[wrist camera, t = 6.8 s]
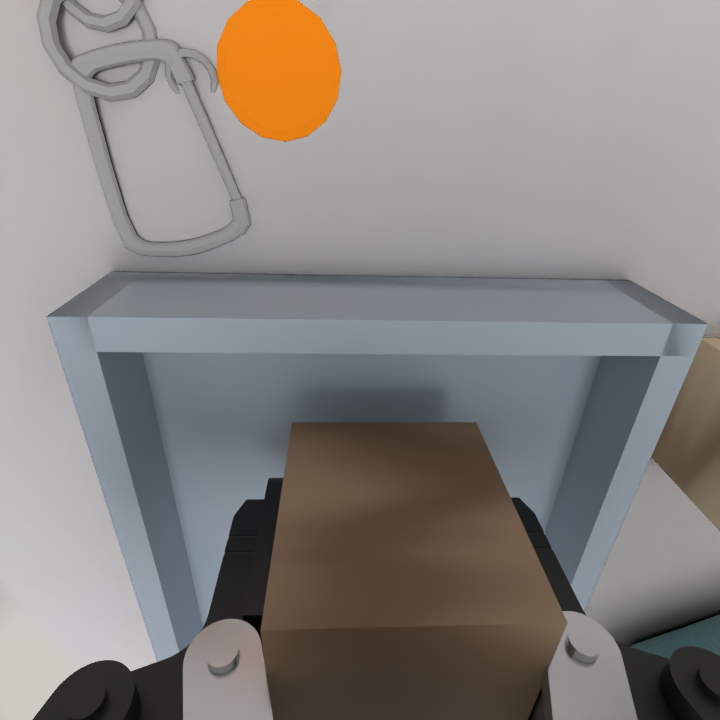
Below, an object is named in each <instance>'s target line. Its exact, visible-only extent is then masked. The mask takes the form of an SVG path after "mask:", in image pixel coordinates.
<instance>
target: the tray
mask: <svg viewBox="0 0 720 720" xmlns="http://www.w3.org/2000/svg"><path fill="white" fill-rule="evenodd" d="M46 317H47V320H48V323H49V326H50V329H51V332H52V335H53V339H54V342H55V345H56V348H57V351H58V354H59V357H60V360H61V363H62V367H63V370H64V373H65V376H66V379H67V382H68V385H69V388H70V392H71V395H72V398H73V401H74V404H75V407H76V410H77V413H78V416H79V420H80V423H81V426H82V429H83V432H84V435H85V438H86V441H87V445H88V448H89V451H90V454H91V457H92V460H93V463H94V466H95V469H96V473H97V476H98V479H99V482H100V485H101V488H102V491H103V494H104V498H105V501H106V504H107V507H108V510H109V513H110V516H111V519H112V522H113V526H114V529H115V532H116V535H117V538H118V541H119V544H120V547H121V551H122V554H123V557H124V560H125V563H126V566H127V569H128V572H129V575H130V579H131V582H132V585H133V588H134V591H135V594H136V597H137V600H138V604H139V607H140V610H141V613H142V616H143V619H144V622H145V625H146V628H147V632H148V635H149V638H150V641H151V644H152V647H153V650H154V653H155V657H156V660H157V662H159V661H161V660H164V659H167V658H169V657H171V656H173V655H175V654H177V653H178V652H180V651H181V650H183V649H184V648H185V647H187V646H188V645H189V644H190V643H191V642H192V641H193V639H194V638H195V637H196V636H197V635H198V634H199V633H200V631H201V630H202V628H203V626H204V624H205V622H206V620H207V617H208V613H209V610H210V606H211V602H212V598H213V594H214V590H215V586H216V582H217V579H218V575H219V571H220V567H221V563H222V559H223V555H224V554H225V548H226V544H227V540H228V539H229V532H230V528H231V525H232V521H233V517H234V515H235V514H236V512H237V511H238V510H239V508H240V507H241V506H242V505H243V503H244V502H245V501H246V499H264V498H265V493H266V488H267V482H268V479H269V478H284V471H285V464H286V458H287V451H288V444H289V438H290V431H291V424H292V422H476V423H477V425H478V427H479V429H480V432H481V434H482V436H483V438H484V440H485V443H486V445H487V447H488V449H489V451H490V454H491V456H492V458H493V460H494V462H495V465H496V467H497V469H498V471H499V473H500V476H501V478H502V480H503V482H504V484H505V486H506V489H507V491H508V493H509V495H510V497H519V498H520V499H521V500H522V501H523V502H524V503H525V504H526V505H527V506H528V507H529V508H530V509H531V510H532V511H533V512H534V513H535V515H536V517H537V519H538V521H539V523H540V525H541V527H542V529H543V531H544V535H546V537H547V539H548V541H549V543H550V545H551V549H552V550H553V551H554V553H555V555H556V557H557V559H558V561H559V563H560V565H561V567H562V569H563V571H564V573H565V575H566V577H567V579H568V581H569V583H570V585H571V587H572V589H573V591H574V593H575V595H576V597H577V599H578V601H579V603H580V605H581V607H582V609H583V611H585V609H586V606H587V604H588V602H589V599H590V597H591V595H592V592H593V590H594V588H595V585H596V583H597V581H598V579H599V576H600V574H601V572H602V569H603V567H604V565H605V562H606V560H607V558H608V555H609V553H610V551H611V548H612V546H613V544H614V542H615V539H616V537H617V535H618V532H619V530H620V528H621V525H622V523H623V521H624V518H625V516H626V514H627V511H628V509H629V507H630V505H631V502H632V500H633V498H634V495H635V493H636V491H637V488H638V486H639V484H640V481H641V479H642V477H643V474H644V472H645V470H646V467H647V465H648V463H649V461H650V458H651V456H652V454H653V451H654V449H655V447H656V444H657V442H658V440H659V437H660V435H661V433H662V430H663V428H664V426H665V424H666V421H667V419H668V417H669V414H670V412H671V410H672V407H673V405H674V403H675V400H676V398H677V396H678V393H679V391H680V389H681V387H682V384H683V382H684V380H685V377H686V375H687V373H688V370H689V368H690V366H691V363H692V361H693V359H694V356H695V354H696V352H697V350H698V347H699V345H700V343H701V340H702V338H703V336H704V333H705V331H706V329H707V326H708V324H707V323H705V322H704V321H702V320H700V319H698V318H696V317H695V316H693V315H691V314H689V313H688V312H686V311H684V310H682V309H680V308H679V307H677V306H675V305H673V304H671V303H670V302H668V301H666V300H664V299H662V298H661V297H659V296H657V295H655V294H653V293H652V292H650V291H648V290H646V289H645V288H643V287H641V286H639V285H637V284H636V283H634V282H632V281H629V280H570V279H511V278H452V277H392V276H333V275H274V274H215V273H156V272H111V273H109V274H108V275H106V276H105V277H103V278H102V279H100V280H99V281H97V282H96V283H95V284H93V285H92V286H90V287H89V288H87V289H86V290H84V291H83V292H81V293H80V294H78V295H77V296H76V297H74V298H73V299H71V300H70V301H68V302H67V303H65V304H64V305H62V306H61V307H60V308H58V309H57V310H55V311H54V312H52V313H51V314H49V315H48V316H46Z"/></svg>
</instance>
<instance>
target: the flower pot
mask: <svg viewBox="0 0 720 720" xmlns="http://www.w3.org/2000/svg"><path fill="white" fill-rule="evenodd" d="M684 646H694V647H699V648H703V649H706V650H709V651H711V652H713V653H715V654H717V655H719V656H720V614H719V615H716V616H714V617H711V618H708V619H706V620H703V621H700V622H697V623H694V624H691V625H689V626H686V627H683V628H680V629H677V630H674V631H671V632H668V633H666V634H663V635H660V636H657V637H654V638H651V639H648V640H645V641H642V642H639V643H637V644H634V645H632V646H631V647H632V648H635V649H638V650H642V651H645V652H648V653H652V654H655V655H658V656H662V657H665V658H668V659H669V658H670V657H671V655H672V654H673V652H674V651H675V650H677V649H678V648H681V647H684Z"/></svg>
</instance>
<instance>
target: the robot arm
mask: <svg viewBox="0 0 720 720" xmlns="http://www.w3.org/2000/svg"><path fill="white" fill-rule="evenodd" d="M282 484H283V478H269V479H268V482H267V488H266V493H265V498H264V499H246V501H245V502H244V503H243V505H242V506H241V507H240V508H239V510H238V511H237V512H236V514H235V515H234V517H233V521H232V525H231V528H230V532H229V539H228V540H227V544H226V548H225V554H224V555H223V559H222V563H221V567H220V571H219V575H218V579H217V582H216V586H215V590H214V594H213V598H212V602H211V606H210V610H209V613H208V617H207V620H206V622H205V624H204V626H203V628H202V630H201V631H200V633H199V634H198V635H197V636H196V637H195V638H194V639H193V641H192V642H191V643H190V644H189V645H188V646H187V647H185V648H184V649H183V650H181V651H180V652H178V653H177V654H175V655H173V656H171V657H169V658H167V659H164V660H161V661H159V662H156V663H153V664H150V665H148V666H145V667H142V668H139V669H137V670H134V671H131V672H130V670H129V669H128V668H127V667H126V666H125V665H124V664H122V663H120V662H117V661H112V660H104V661H98V662H95V663H91V664H89V665H87V666H85V667H82V668H81V669H79V670H77V671H76V672H74V673H73V674H72V675H70V676H69V677H68V678H67V679H66V680H65V681H63V683H61V684H60V685H59V687H58V688H57V689H56V690H55V691H54V693H53V694H52V695H51V696H50V698H49V699H48V700H47V702H46V703H45V704H44V706H43V707H42V708H41V709H40V711H39V712H38V713H37V715H36V716H35V717H34V719H33V720H273V715H272V709H271V702H270V696H269V689H268V683H267V676H266V671H265V663H264V655H263V647H262V638H261V624H262V617H263V611H264V604H265V597H266V591H267V584H268V577H269V571H270V564H271V557H272V551H273V544H274V537H275V531H276V524H277V517H278V511H279V504H280V498H281V491H282ZM511 500H512V502H513V504H514V506H515V508H516V511H517V513H518V515H519V517H520V519H521V522H522V524H523V526H524V528H525V530H526V533H527V535H528V537H529V539H530V541H531V543H532V546H533V548H534V550H535V552H536V554H537V557H538V559H539V561H540V563H541V565H542V568H543V570H544V572H545V574H546V576H547V579H548V581H549V583H550V585H551V587H552V590H553V592H554V594H555V596H556V598H557V600H558V603H559V605H560V607H561V609H562V611H563V614H564V616H565V618H566V620H567V622H568V623H567V625H566V628H565V630H564V633H563V635H562V638H561V640H560V643H559V645H558V647H557V650H556V652H555V655H554V657H553V660H552V662H551V664H547V666H546V668H545V670H544V673H543V675H542V678H541V686H542V687H541V689H540V692H539V694H538V696H537V699H536V701H535V704H534V706H533V709H532V711H531V714H530V716H529V719H528V720H720V656H719V655H717V654H715V653H713V652H711V651H709V650H706V649H703V648H699V647H694V646H684V647H681V648H678V649H677V650H675V651H674V652H673V654H672V655H671V657H670V658H669V659H668V658H665V657H662V656H658V655H655V654H652V653H648V652H645V651H642V650H638V649H635V648H632V647H629V646H626V645H623V644H621V643H619V642H617V641H615V640H614V638H613V637H612V636H611V635H610V633H609V632H608V631H607V630H606V629H605V628H604V627H603V626H602V625H600V624H599V623H598V622H597V621H595V620H593V619H592V618H590V617H588V616H587V615H586V614H585V612H584V611H583V609H582V607H581V605H580V603H579V601H578V599H577V597H576V595H575V593H574V591H573V589H572V587H571V585H570V583H569V581H568V579H567V577H566V575H565V573H564V571H563V569H562V567H561V565H560V563H559V561H558V559H557V557H556V555H555V553H554V551H553V550H552V549H551V545H550V543H549V541H548V539H547V537H546V535H544V531H543V529H542V527H541V525H540V523H539V521H538V519H537V517H536V515H535V513H534V512H533V511H532V510H531V509H530V508H529V507H528V506H527V505H526V504H525V503H524V502H523V501H522V500H521V499H520V498H519V497H511Z"/></svg>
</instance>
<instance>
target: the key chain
mask: <svg viewBox="0 0 720 720" xmlns="http://www.w3.org/2000/svg"><path fill="white" fill-rule="evenodd" d="M119 1H120V2H122V3H123V4H122V6H121V7H120V8H119V10H118V11H116V12H113V13H111V14H108V15H106V16H103V15H98V14H93V13H90V12H88V11H87V10H86V9H84V8H83V7H82V6H80V5H79V4H78V3H77V2H76V1H75V0H40V4H39V8H38V12H37V20H38V25H39V30H40V34H41V39H42V44H43V47H44V49H45V51H46V52H47V54H48V55H49V57H50V58H51V60H52V62H53V63H54V65H55V66H56V68H57V69H58V71H59V73H60V74H61V75H62V76H63V77H65V78H66V79H67V80H69V81H70V82H71V83H72V84H73V87H74V91H75V95H76V99H77V103H78V106H79V110H80V113H81V117H82V120H83V124H84V127H85V131H86V134H87V138H88V142H89V145H90V149H91V152H92V156H93V159H94V163H95V166H96V169H97V172H98V176H99V179H100V182H101V185H102V188H103V191H104V194H105V198H106V201H107V204H108V207H109V210H110V213H111V216H112V220H113V223H114V225H115V227H116V229H117V231H118V233H119V235H120V237H121V239H122V241H123V243H124V245H125V247H126V248H128V249H129V250H131V251H133V252H134V253H137V254H141V255H146V256H157V257H181V256H189V255H195V254H199V253H203V252H206V251H209V250H212V249H215V248H217V247H219V246H222V245H224V244H226V243H229V242H231V241H233V240H235V239H236V238H238V237H239V236H241V235H243V234H244V233H245V232H246V231H247V229H248V228H249V226H250V225H251V222H250V218H249V213H248V209H247V204H246V200H245V197H243V198H241V195H240V193H239V191H238V188H237V186H236V184H235V181H234V179H233V177H232V174H231V172H230V169H229V167H228V165H227V162H226V160H225V158H224V155H223V153H222V151H221V148H220V146H219V144H218V141H217V139H216V137H215V134H214V132H213V129H212V127H211V125H210V122H209V120H208V118H207V115H206V113H205V111H204V108H203V106H202V104H201V101H200V99H199V96H198V94H197V92H196V89H195V87H194V85H193V82H192V81H195V78H194V76H193V74H192V72H191V70H190V68H189V66H188V64H187V63H186V61H185V59H184V57H188V58H194V59H196V60H197V61H199V62H201V63H202V64H203V65H204V67H205V68H206V69H207V70H208V72H209V75H210V78H211V92H210V93H215V92H216V89H217V86H218V83H220V86H221V89H222V93H223V96H224V99H225V102H226V103H227V104H228V106H229V107H230V109H231V110H232V111H233V113H234V114H235V115H236V117H237V118H238V119H239V121H240V122H241V123H242V124H243V125H245V126H246V127H248V128H249V129H251V130H252V131H254V132H255V133H257V134H258V135H260V136H261V137H263V138H269V139H274V140H279V141H284V142H286V141H290V140H294V139H298V138H302V137H306V136H308V135H309V134H311V133H312V132H313V131H314V130H316V129H317V128H318V127H319V126H320V125H322V124H323V123H324V122H325V121H326V120H327V118H328V116H329V114H330V112H331V110H332V108H333V106H334V105H335V103H336V101H337V99H338V91H339V84H340V76H341V69H340V64H339V59H338V54H337V49H336V44H335V42H334V40H333V38H332V37H331V35H330V33H329V32H328V30H327V28H326V27H325V25H324V23H323V22H322V20H321V18H320V17H318V16H317V15H316V14H315V13H313V12H312V11H311V10H309V9H308V8H307V7H306V6H304V5H303V4H302V3H300V2H299V1H297V0H250V1H247V2H246V3H245V4H244V5H243V6H242V7H241V8H240V9H239V10H238V11H237V12H235V13H234V14H233V15H232V16H231V17H230V18H229V19H228V21H227V23H226V26H225V28H224V31H223V33H222V35H221V38H220V40H219V43H218V45H217V74H216V71H215V68H214V67H213V66H212V64H211V63H210V62H209V60H208V59H207V58H206V57H205V56H203V55H201V54H200V53H198V52H197V51H195V50H190V49H183V48H181V49H179V47H178V46H177V45H176V44H175V43H174V42H172V41H170V40H165V39H158V36H157V29H156V27H155V25H154V23H153V21H152V19H151V17H150V15H149V13H148V11H147V9H146V7H145V5H144V3H143V1H142V0H119ZM61 2H62V4H63V5H64V7H65V9H66V10H67V12H68V13H69V14H70V15H72V16H73V17H74V18H75V19H77V20H78V21H79V22H81V23H82V24H83V25H85V26H86V27H87V28H91V29H95V30H100V31H105V32H110V31H113V30H116V29H118V28H121V27H124V26H126V25H127V24H128V23H129V21H130V20H131V19H132V17H133V16H134V18H135V20H136V21H137V23H138V25H139V27H140V29H141V31H142V36H143V40H138V41H129V42H123V43H117V44H112V45H108V46H104V47H101V48H98V49H94V50H91V51H88V52H85V53H83V54H81V55H78V56H76V57H75V58H73V59H72V60H71V61H70V59H69V58H68V56H67V55H66V53H65V51H64V50H63V48H62V46H61V45H60V41H59V36H58V31H57V26H56V20H57V16H58V12H59V8H60V4H61ZM160 61H161V62H163V63H165V76H166V78H167V81H168V83H169V86H170V87H171V88H172V89H173V91H174V92H175V93H180V91H179V89H178V86H177V85H180V84H181V85H182V88H183V90H184V92H185V94H186V97H187V99H188V101H189V103H190V106H191V108H192V110H193V112H194V115H195V117H196V119H197V121H198V124H199V126H200V128H201V130H202V133H203V135H204V137H205V139H206V142H207V144H208V146H209V148H210V151H211V153H212V155H213V157H214V160H215V162H216V164H217V166H218V169H219V171H220V173H221V175H222V178H223V180H224V182H225V184H226V187H227V189H228V191H229V193H230V196H231V198H232V200H231V201H229V202H230V206H231V211H232V216H233V220H232V222H231V223H230V224H229V225H228V226H226V227H225V228H223V229H221V230H219V231H216V232H214V233H211V234H209V235H206V236H203V237H200V238H196V239H191V240H186V241H179V242H165V243H155V242H147V241H144V240H143V239H141V238H140V237H138V236H137V234H136V232H135V230H134V228H133V226H132V224H131V222H130V220H129V218H128V216H127V213H126V210H125V207H124V203H123V200H122V197H121V193H120V190H119V187H118V184H117V180H116V177H115V174H114V171H113V167H112V164H111V160H110V157H109V153H108V149H107V146H106V142H105V138H104V135H103V131H102V127H101V123H100V120H99V116H98V112H97V109H96V105H95V100H94V96H95V97H98V98H102V99H105V100H109V101H117V100H123V99H129V98H134V97H137V96H138V95H139V94H140V93H141V92H142V91H143V90H145V89H146V88H147V87H148V86H149V85H150V84H151V83H153V81H154V78H155V75H156V72H157V69H158V66H159V62H160ZM136 62H141V65H140V68H139V70H138V71H137V72H136V73H135V74H133V75H132V76H131V77H130V78H129V79H128V80H127V81H122V82H116V83H111V84H108V83H105V82H101V81H98V80H95V79H92V77H93V75H94V74H95V73H96V72H98V71H101V70H104V69H108V68H112V67H116V66H120V65H125V64H130V63H136ZM174 79H175V80H174ZM218 80H219V81H218ZM175 81H176V82H175ZM176 83H177V84H176Z"/></svg>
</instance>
